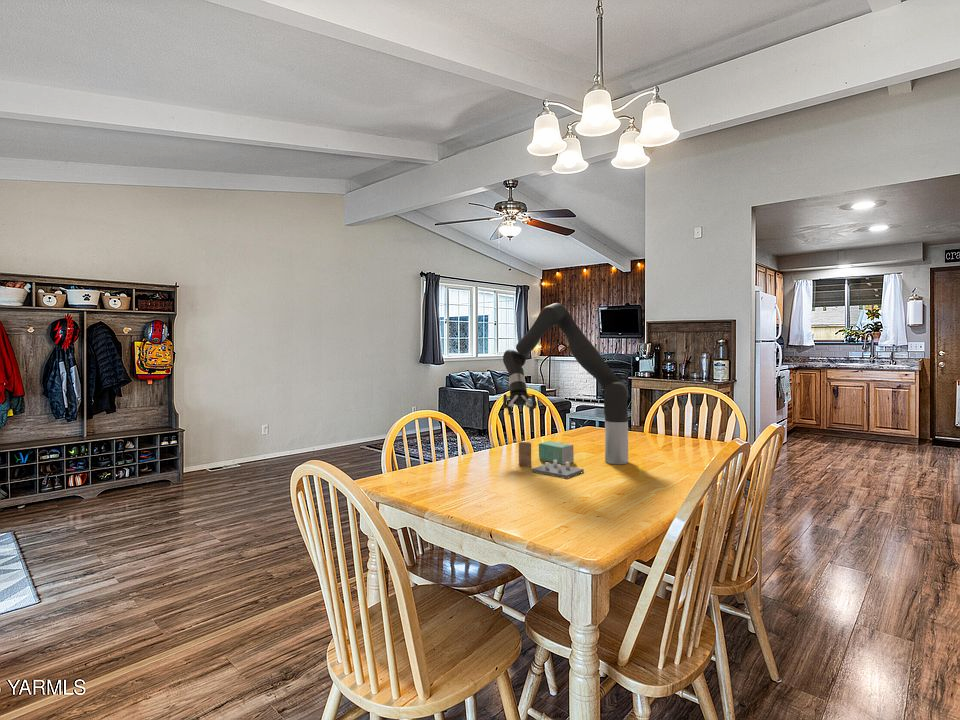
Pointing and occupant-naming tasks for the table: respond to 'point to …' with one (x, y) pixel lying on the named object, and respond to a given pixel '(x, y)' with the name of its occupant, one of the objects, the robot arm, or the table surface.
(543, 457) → the box
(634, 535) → the table surface
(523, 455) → the post
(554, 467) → the peg plate
